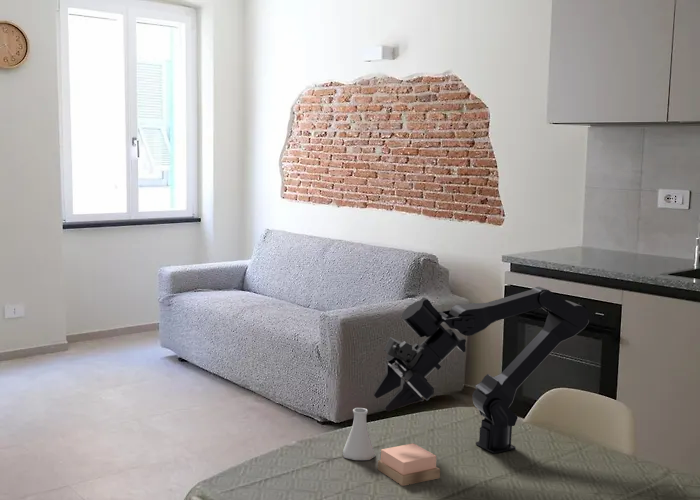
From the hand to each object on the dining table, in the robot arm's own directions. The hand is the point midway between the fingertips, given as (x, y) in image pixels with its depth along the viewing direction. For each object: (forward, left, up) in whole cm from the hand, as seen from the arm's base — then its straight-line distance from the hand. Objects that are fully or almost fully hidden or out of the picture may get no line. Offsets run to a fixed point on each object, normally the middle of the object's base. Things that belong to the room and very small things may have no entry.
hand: (380, 403), depth 172 cm
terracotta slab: (0, +12, -9) cm, 15 cm away
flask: (+4, -1, -11) cm, 12 cm away
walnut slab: (0, +12, -12) cm, 17 cm away
